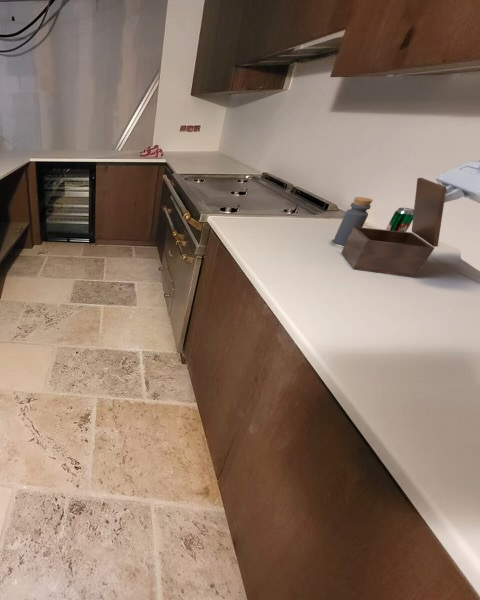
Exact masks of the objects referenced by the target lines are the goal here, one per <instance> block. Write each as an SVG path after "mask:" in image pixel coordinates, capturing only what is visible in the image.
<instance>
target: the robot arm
mask: <svg viewBox="0 0 480 600" xmlns="http://www.w3.org/2000/svg"><path fill="white" fill-rule="evenodd" d="M435 182H436V183H437V184H439V185H442V186H444V187H446V194H445V200H444V204H445V203H448V202H452V201H457V200H459V199H461V198H463V197H464V198H466V199H469V200H470V201H473V202H475V203H479V204H480V160H470V161H467V162H463V163H461V164H460V165H457V166H455V167H453V168H451V169H448V170H447V171H444V172H442V173H440V174H439V175H438V176H437V177H436V178H435Z"/></svg>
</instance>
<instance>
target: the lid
mask: <svg viewBox="0 0 480 600" xmlns="http://www.w3.org/2000/svg"><path fill="white" fill-rule="evenodd" d="M445 194H446V187H444V186H442V185H439V184H438V183H437V182H434V181H432V180H428V179H426V178H423V177H417V178H416V188H415V197H414V205H413V209H414V214H413V220H412V222H411V233H414V234H415V235H416V236H418V237H419V238H421V239H422V240H424V241H425V242H426V243H428V244H429V245H431V246H432V247H434V248H435V247H439V242H440V241H439V240H440V234H441V228H442V219H443V214H444V206H445V203H444V200H445Z"/></svg>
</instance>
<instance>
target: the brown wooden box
mask: <svg viewBox="0 0 480 600" xmlns="http://www.w3.org/2000/svg"><path fill="white" fill-rule="evenodd" d="M434 250H435V247H433V246H432V245H431V244H429V243H428V242H426V241H425V240H423V239H422V238H420V237H419V236H418V235H416V234H415V233H413V232H412V231H406V232H401V231H391V230H386V229H381V228H371V227H370V228H369V227H362V228H361V227H353V229H352V231H351V233H350V235H349V237H348V239H347V241H346V244H345V245H343V248H342V250H341V256H343V258H344V259H345V260H346V262H347V263H348V264H349V266H350V267H351V268H352V269H353V270H357V271H363V272H364V271H365V272H372V273H378V274H386V275H393V276H400V277H402V276H403V277H409V278H414V279H416V278H417V277H418V275H419V274H420V272H421V271H422V269H423V267H424V266H425V264H426V262H427V261H428V260H429V258H430V256H431V255H432V253H433V252H434Z"/></svg>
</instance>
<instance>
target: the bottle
mask: <svg viewBox="0 0 480 600" xmlns="http://www.w3.org/2000/svg"><path fill="white" fill-rule="evenodd" d="M373 201H374V200H373V199H372V198H368V197H363V196H355V197H354V199H353V202H351V203H350V207H351V208H350V209H347V210H346V211H345V214H344V216H343V218H342V220H341V223H340V225H339V227H338V229H337V232H336V233H335V236H334V238H333V242H334V243H335V244H337V245H341V246H345V244H346V241H347V239H348V237H349V235H350V233H351V231H352V229H353V227H361V228H364V225H365V223H366V221H367V218H368V216H369V212H367V211H368V210H370V209H371V207H372V206H371V204H372V202H373Z"/></svg>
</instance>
